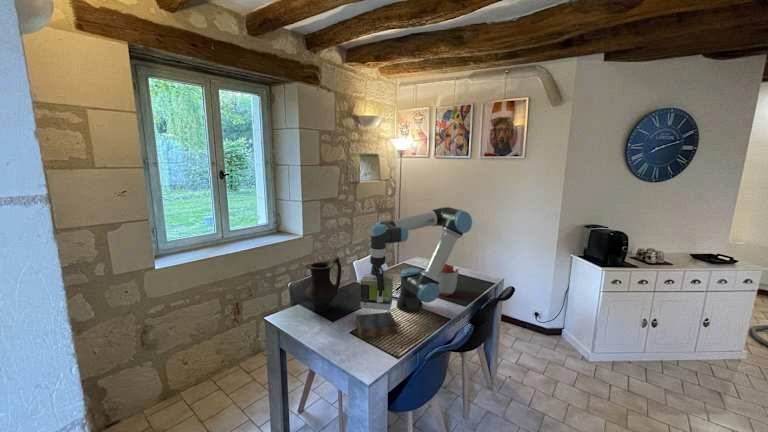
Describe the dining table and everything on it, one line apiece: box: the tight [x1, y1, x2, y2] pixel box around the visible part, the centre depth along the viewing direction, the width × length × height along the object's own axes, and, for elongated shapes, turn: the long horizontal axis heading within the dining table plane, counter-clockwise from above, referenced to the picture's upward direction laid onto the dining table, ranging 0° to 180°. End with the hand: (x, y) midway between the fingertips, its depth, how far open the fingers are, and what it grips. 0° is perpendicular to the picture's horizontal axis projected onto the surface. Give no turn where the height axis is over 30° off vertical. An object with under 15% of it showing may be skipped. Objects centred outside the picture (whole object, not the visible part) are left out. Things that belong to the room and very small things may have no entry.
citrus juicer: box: [438, 263, 460, 297], centre depth 209 cm, size 16×17×20 cm
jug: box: [304, 256, 342, 313], centre depth 182 cm, size 21×18×30 cm
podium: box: [355, 311, 399, 339], centre depth 164 cm, size 19×15×4 cm
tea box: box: [360, 273, 394, 312], centre depth 161 cm, size 15×10×15 cm, turn 81°
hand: (376, 296), depth 161 cm, fingers closed on tea box, 12 cm apart
